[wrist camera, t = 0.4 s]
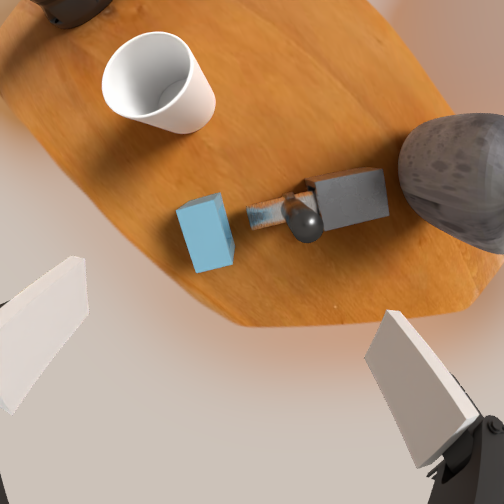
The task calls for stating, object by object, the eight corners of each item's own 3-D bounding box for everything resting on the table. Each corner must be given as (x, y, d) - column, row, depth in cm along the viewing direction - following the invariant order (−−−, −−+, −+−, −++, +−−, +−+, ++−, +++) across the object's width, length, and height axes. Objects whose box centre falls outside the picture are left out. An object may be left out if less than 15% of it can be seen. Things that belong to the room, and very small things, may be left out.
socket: (220, 192, 37) (213, 199, 30) (235, 245, 39) (232, 264, 32) (188, 201, 37) (175, 210, 30) (204, 253, 39) (196, 273, 33)
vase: (400, 235, 39) (547, 339, 10) (366, 137, 34) (558, 132, 6) (465, 198, 37) (601, 254, 8) (440, 110, 32) (594, 105, 4)
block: (363, 166, 36) (382, 168, 30) (370, 207, 37) (389, 215, 32) (304, 178, 36) (314, 182, 30) (313, 220, 38) (324, 231, 32)
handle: (366, 174, 35) (412, 183, 24) (370, 201, 36) (416, 221, 25) (245, 200, 36) (244, 220, 25) (252, 229, 37) (255, 261, 26)
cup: (207, 138, 34) (179, 123, 19) (151, 130, 33) (91, 116, 18) (221, 82, 32) (204, 33, 16) (164, 75, 31) (116, 33, 16)
